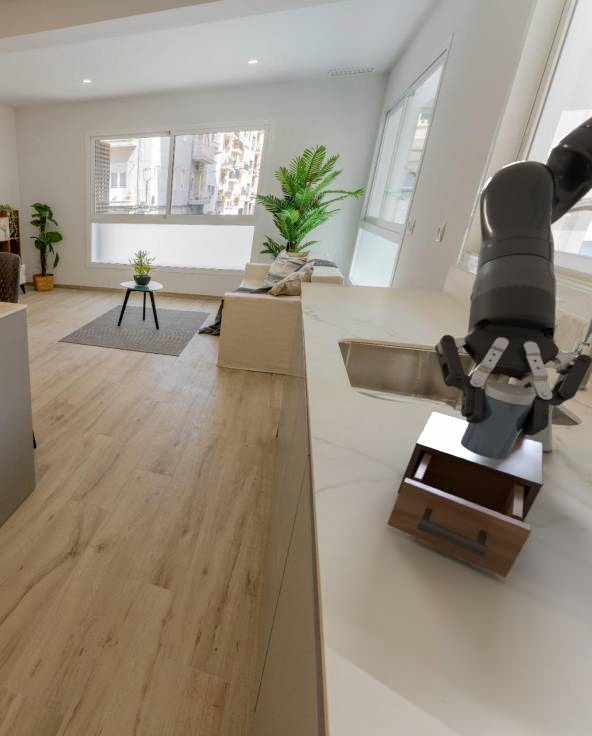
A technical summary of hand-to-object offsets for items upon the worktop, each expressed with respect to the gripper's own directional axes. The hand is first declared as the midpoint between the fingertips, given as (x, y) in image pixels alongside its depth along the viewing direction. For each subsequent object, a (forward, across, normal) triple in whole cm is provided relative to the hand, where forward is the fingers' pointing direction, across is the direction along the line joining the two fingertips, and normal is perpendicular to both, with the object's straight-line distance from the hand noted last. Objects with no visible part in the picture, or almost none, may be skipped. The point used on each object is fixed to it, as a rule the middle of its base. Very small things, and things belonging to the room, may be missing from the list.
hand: (502, 426), depth 48 cm
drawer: (+11, -1, +11) cm, 16 cm away
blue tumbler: (+1, 0, +4) cm, 4 cm away
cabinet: (+3, +3, +20) cm, 21 cm away
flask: (-15, +17, +38) cm, 44 cm away
